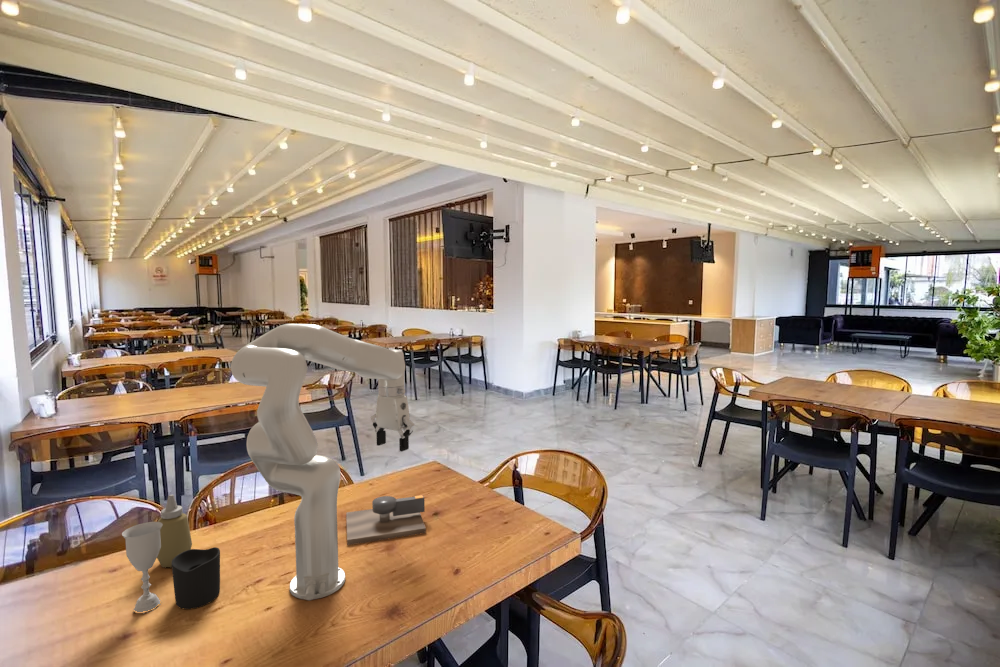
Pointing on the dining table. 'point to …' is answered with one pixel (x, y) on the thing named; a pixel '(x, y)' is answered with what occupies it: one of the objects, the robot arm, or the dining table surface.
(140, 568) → the chalice
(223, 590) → the dining table surface
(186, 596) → the pen holder
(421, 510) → the grey knob lever
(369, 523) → the board
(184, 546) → the squeeze bottle
